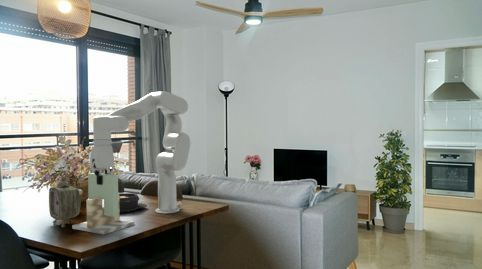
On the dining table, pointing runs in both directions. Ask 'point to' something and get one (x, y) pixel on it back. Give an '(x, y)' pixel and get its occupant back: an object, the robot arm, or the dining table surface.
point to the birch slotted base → (104, 227)
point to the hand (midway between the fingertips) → (102, 183)
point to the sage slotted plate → (105, 192)
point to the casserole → (129, 202)
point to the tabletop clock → (64, 201)
